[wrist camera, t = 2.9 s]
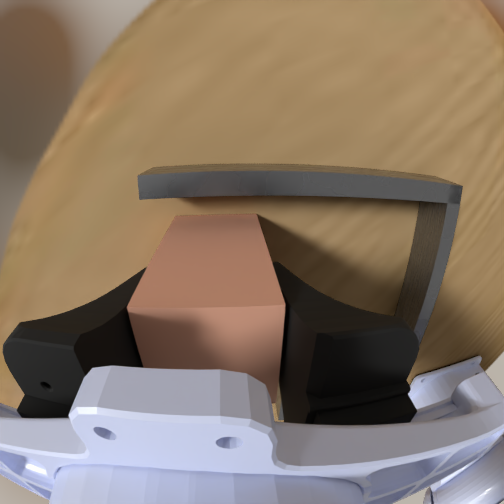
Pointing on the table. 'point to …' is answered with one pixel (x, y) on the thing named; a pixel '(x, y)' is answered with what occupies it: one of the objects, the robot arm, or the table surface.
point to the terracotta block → (211, 300)
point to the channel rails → (342, 185)
